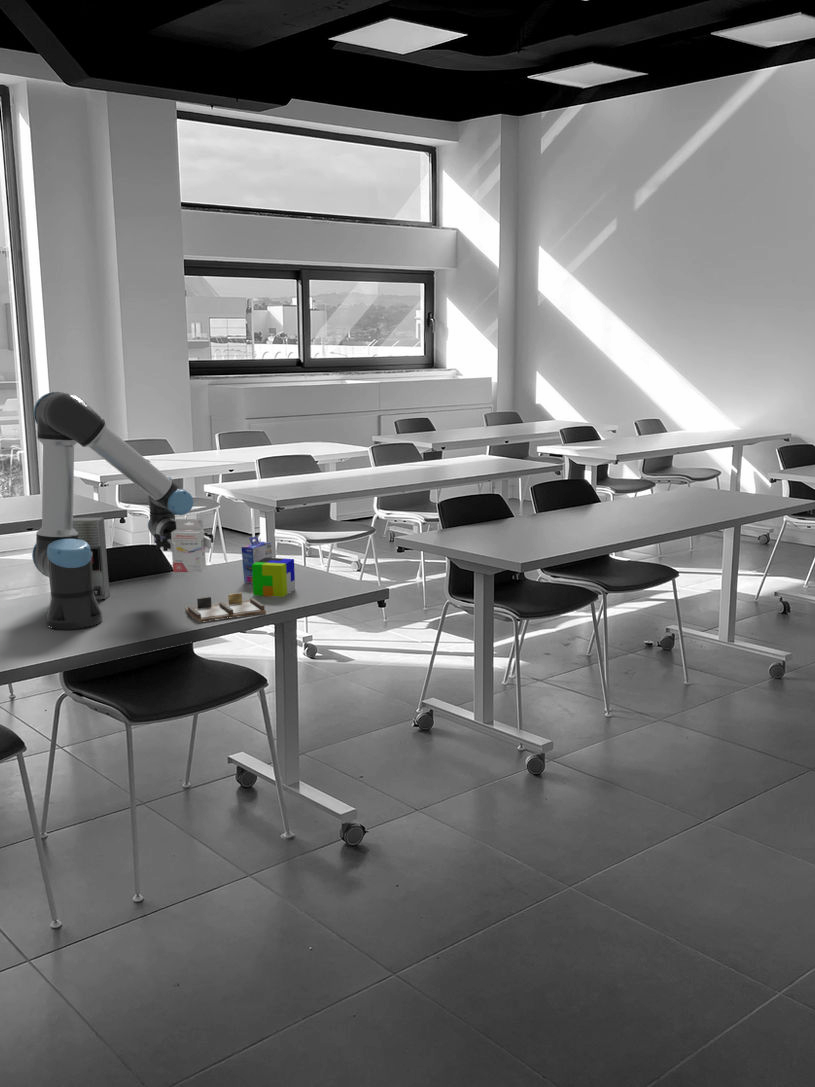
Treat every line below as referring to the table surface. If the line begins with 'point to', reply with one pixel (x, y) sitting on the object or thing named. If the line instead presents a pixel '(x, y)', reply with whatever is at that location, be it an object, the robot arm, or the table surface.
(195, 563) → the ink cartridge box
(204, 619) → the tag dock board
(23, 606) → the table surface
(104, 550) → the tall grey box
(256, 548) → the ink cartridge box
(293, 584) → the puzzle toy
